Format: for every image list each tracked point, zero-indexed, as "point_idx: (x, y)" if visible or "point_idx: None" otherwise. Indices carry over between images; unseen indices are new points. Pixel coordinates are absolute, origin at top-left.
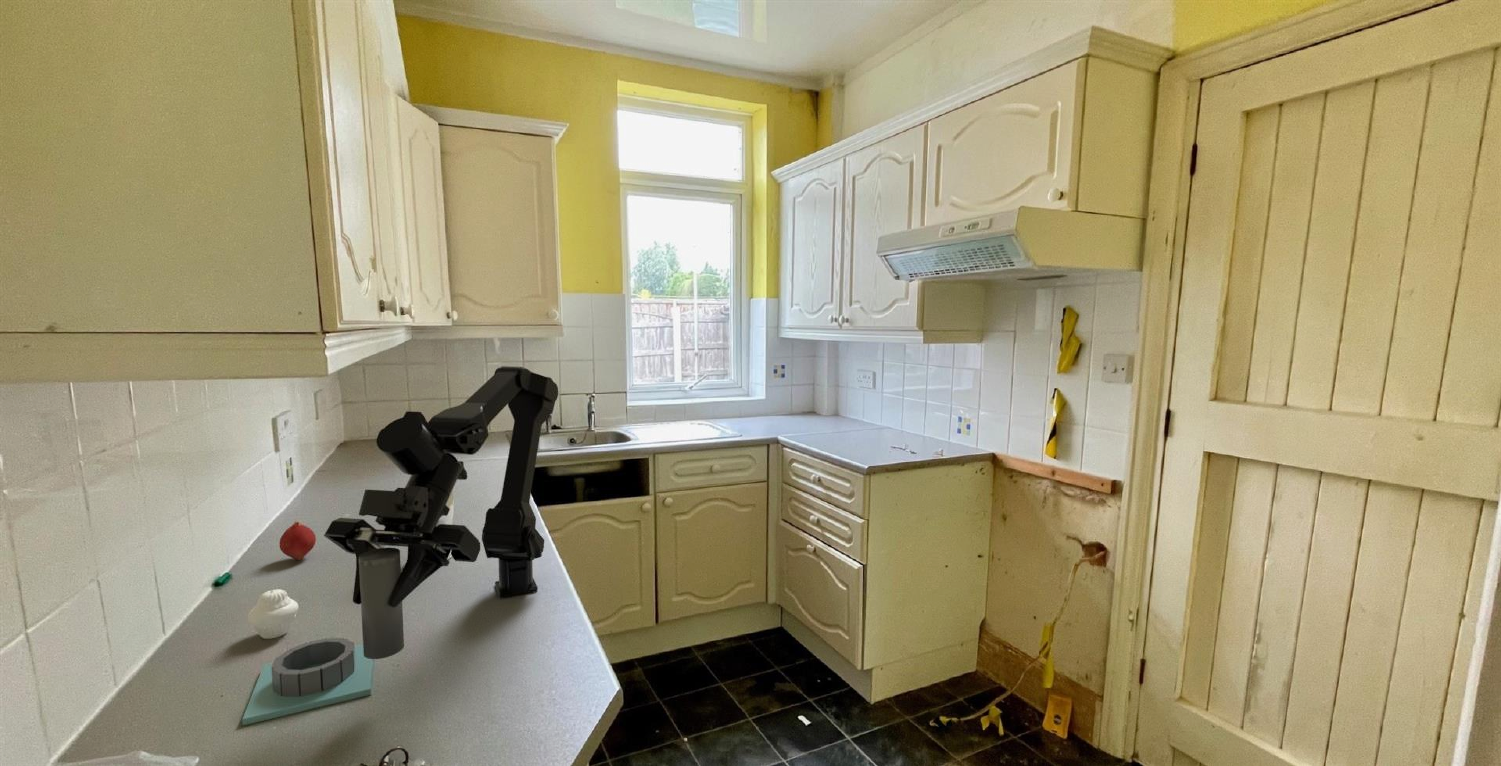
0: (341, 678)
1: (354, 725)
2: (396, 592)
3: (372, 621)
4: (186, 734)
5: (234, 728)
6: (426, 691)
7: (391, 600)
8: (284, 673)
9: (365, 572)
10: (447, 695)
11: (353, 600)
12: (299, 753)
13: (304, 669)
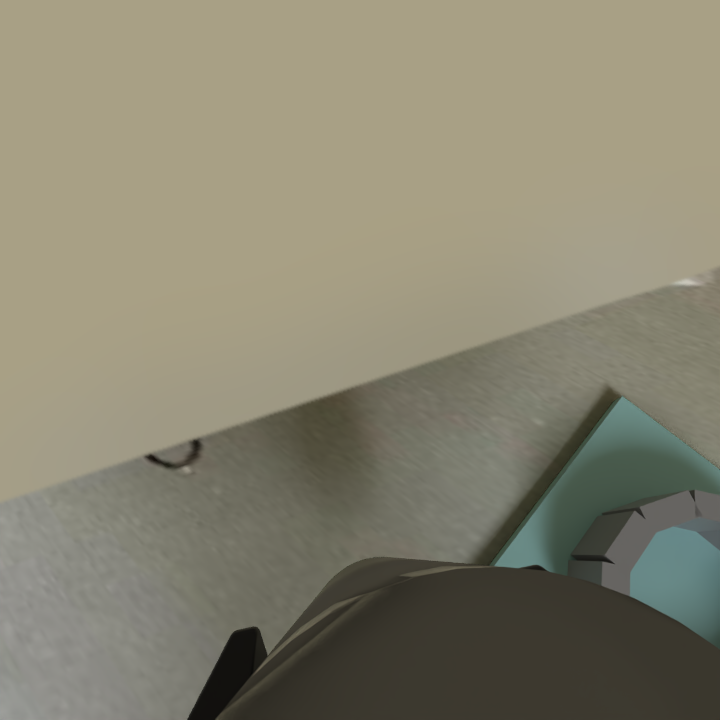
0: None
1: (362, 493)
2: (203, 707)
3: (358, 565)
4: (687, 341)
5: (618, 388)
6: None
7: (235, 647)
8: (682, 496)
9: (430, 564)
10: None
11: (532, 565)
12: (390, 377)
13: (652, 536)
